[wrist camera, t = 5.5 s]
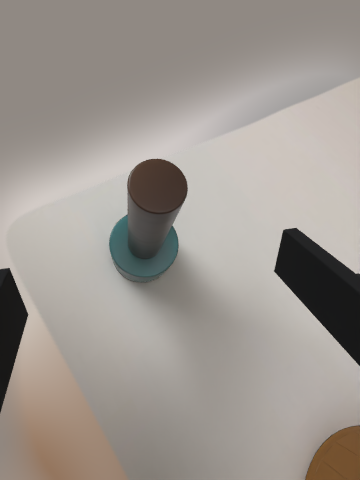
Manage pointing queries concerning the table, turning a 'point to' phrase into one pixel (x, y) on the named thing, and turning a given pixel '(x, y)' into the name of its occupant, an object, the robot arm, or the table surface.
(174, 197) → the wooden peg on base
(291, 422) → the table surface
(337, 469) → the wooden pot
